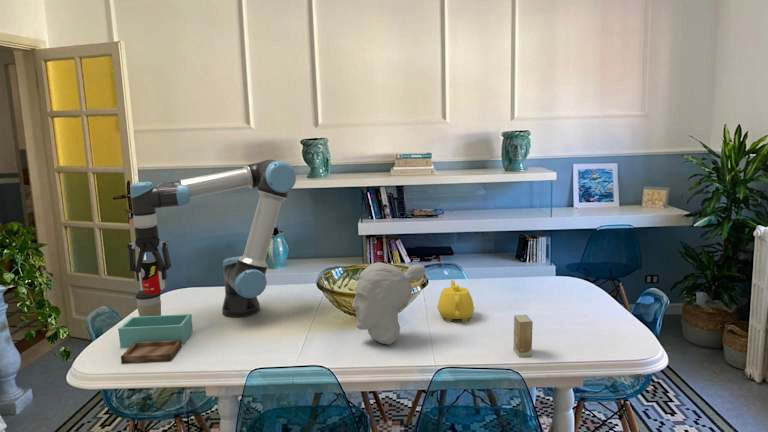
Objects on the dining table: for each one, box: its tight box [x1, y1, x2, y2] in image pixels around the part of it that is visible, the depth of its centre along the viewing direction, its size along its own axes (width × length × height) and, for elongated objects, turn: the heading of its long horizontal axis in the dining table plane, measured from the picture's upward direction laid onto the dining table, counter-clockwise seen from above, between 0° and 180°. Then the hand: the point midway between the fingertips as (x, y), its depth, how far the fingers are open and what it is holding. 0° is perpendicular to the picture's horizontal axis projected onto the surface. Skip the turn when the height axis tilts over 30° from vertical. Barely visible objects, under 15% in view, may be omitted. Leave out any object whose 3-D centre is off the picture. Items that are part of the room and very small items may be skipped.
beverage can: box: [141, 258, 163, 295], centre depth 201 cm, size 6×6×12 cm
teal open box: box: [118, 313, 194, 348], centre depth 204 cm, size 22×12×7 cm, turn 93°
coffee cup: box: [135, 289, 162, 317], centre depth 217 cm, size 9×9×15 cm
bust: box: [351, 261, 426, 345], centre depth 196 cm, size 15×26×28 cm, turn 99°
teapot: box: [437, 279, 475, 323], centre depth 218 cm, size 14×20×13 cm
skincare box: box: [513, 314, 534, 358], centre depth 183 cm, size 6×4×12 cm
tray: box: [120, 340, 183, 364], centre depth 191 cm, size 16×12×2 cm
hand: (153, 288), depth 202 cm, fingers closed on beverage can, 6 cm apart
